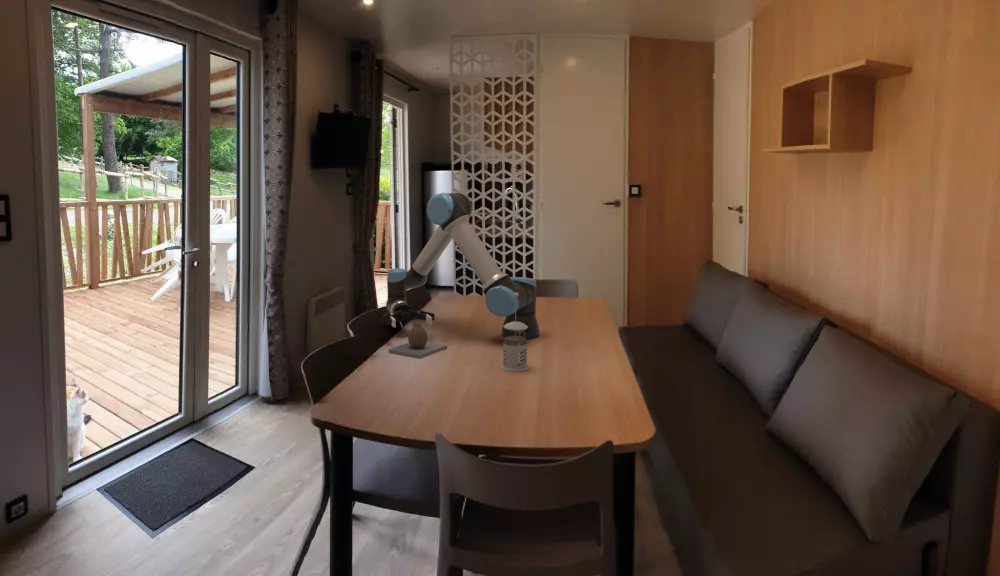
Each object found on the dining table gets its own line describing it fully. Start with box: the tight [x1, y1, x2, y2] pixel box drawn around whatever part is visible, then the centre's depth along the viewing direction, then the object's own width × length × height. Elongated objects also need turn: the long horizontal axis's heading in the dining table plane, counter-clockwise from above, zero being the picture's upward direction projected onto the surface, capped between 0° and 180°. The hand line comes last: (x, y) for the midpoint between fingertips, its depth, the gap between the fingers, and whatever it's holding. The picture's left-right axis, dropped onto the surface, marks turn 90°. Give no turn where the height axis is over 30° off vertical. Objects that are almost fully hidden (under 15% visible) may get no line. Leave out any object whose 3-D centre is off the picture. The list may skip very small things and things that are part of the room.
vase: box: [407, 322, 428, 349], centre depth 231 cm, size 7×7×9 cm
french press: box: [499, 293, 530, 372], centre depth 212 cm, size 10×12×25 cm
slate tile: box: [388, 341, 448, 359], centre depth 231 cm, size 14×16×1 cm
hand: (413, 322), depth 237 cm, fingers open, 13 cm apart
